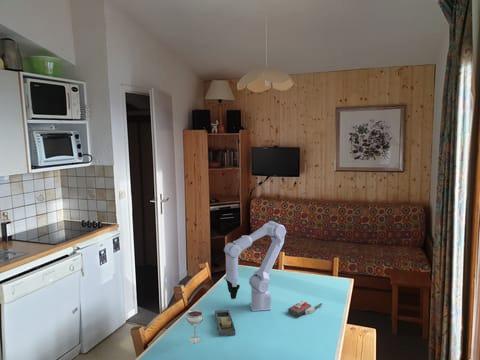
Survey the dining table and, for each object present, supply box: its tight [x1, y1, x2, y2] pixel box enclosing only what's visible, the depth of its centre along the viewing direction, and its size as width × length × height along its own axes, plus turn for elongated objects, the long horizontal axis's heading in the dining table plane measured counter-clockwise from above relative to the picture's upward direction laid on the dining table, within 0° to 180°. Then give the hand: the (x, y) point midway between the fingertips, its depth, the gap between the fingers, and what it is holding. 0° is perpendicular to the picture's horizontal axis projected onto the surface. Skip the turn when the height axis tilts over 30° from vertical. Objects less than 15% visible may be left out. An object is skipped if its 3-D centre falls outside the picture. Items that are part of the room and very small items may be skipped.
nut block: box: [220, 316, 231, 329], centre depth 167 cm, size 4×4×5 cm
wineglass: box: [186, 308, 204, 344], centre depth 158 cm, size 7×7×12 cm
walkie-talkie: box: [287, 300, 323, 318], centre depth 186 cm, size 9×4×20 cm
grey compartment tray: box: [214, 309, 236, 337], centre depth 172 cm, size 7×20×2 cm, turn 10°
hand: (232, 295), depth 181 cm, fingers open, 7 cm apart
